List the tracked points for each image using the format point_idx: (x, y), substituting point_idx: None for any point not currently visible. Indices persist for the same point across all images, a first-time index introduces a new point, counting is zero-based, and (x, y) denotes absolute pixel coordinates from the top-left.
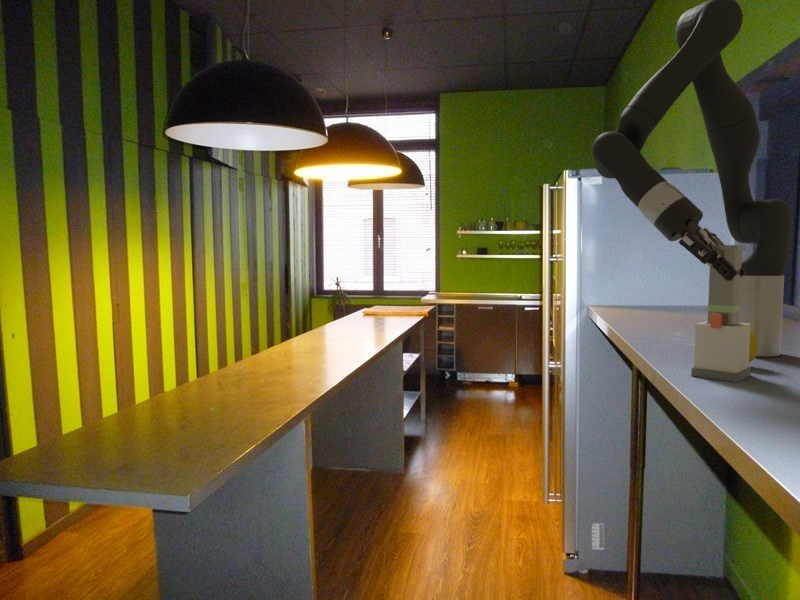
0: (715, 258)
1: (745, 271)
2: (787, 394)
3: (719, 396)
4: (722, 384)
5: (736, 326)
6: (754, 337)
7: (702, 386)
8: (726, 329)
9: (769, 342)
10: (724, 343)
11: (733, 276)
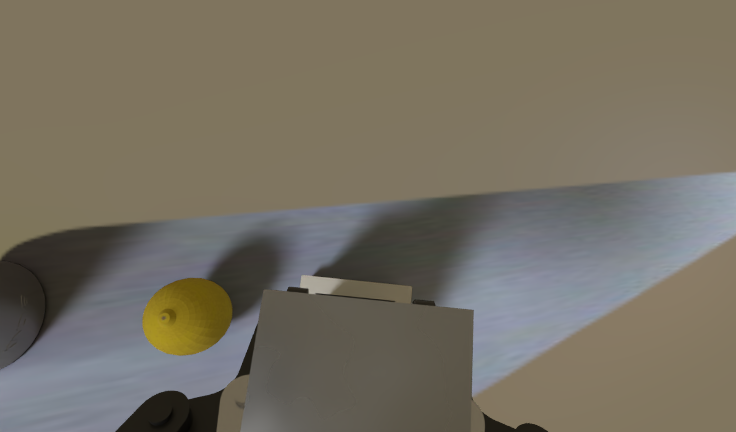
0: (490, 422)
1: (291, 287)
2: (443, 204)
3: (534, 290)
4: None
5: (399, 294)
6: (194, 284)
7: (474, 333)
8: None
9: (3, 278)
10: None
11: None
